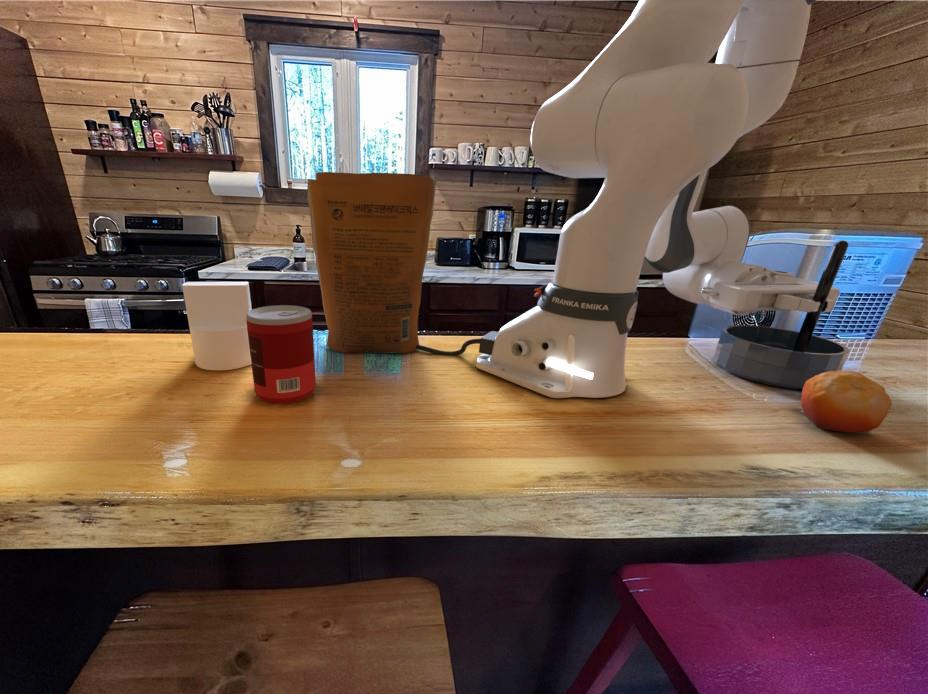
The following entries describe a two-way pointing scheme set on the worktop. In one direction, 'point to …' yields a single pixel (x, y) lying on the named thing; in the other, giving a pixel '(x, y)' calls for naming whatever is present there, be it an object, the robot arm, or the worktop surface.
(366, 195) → the pancake mix bag
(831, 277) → the long black rod
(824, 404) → the fruit
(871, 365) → the worktop surface
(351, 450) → the worktop surface
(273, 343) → the canned food
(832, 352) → the bowl
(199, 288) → the base with upright slab
